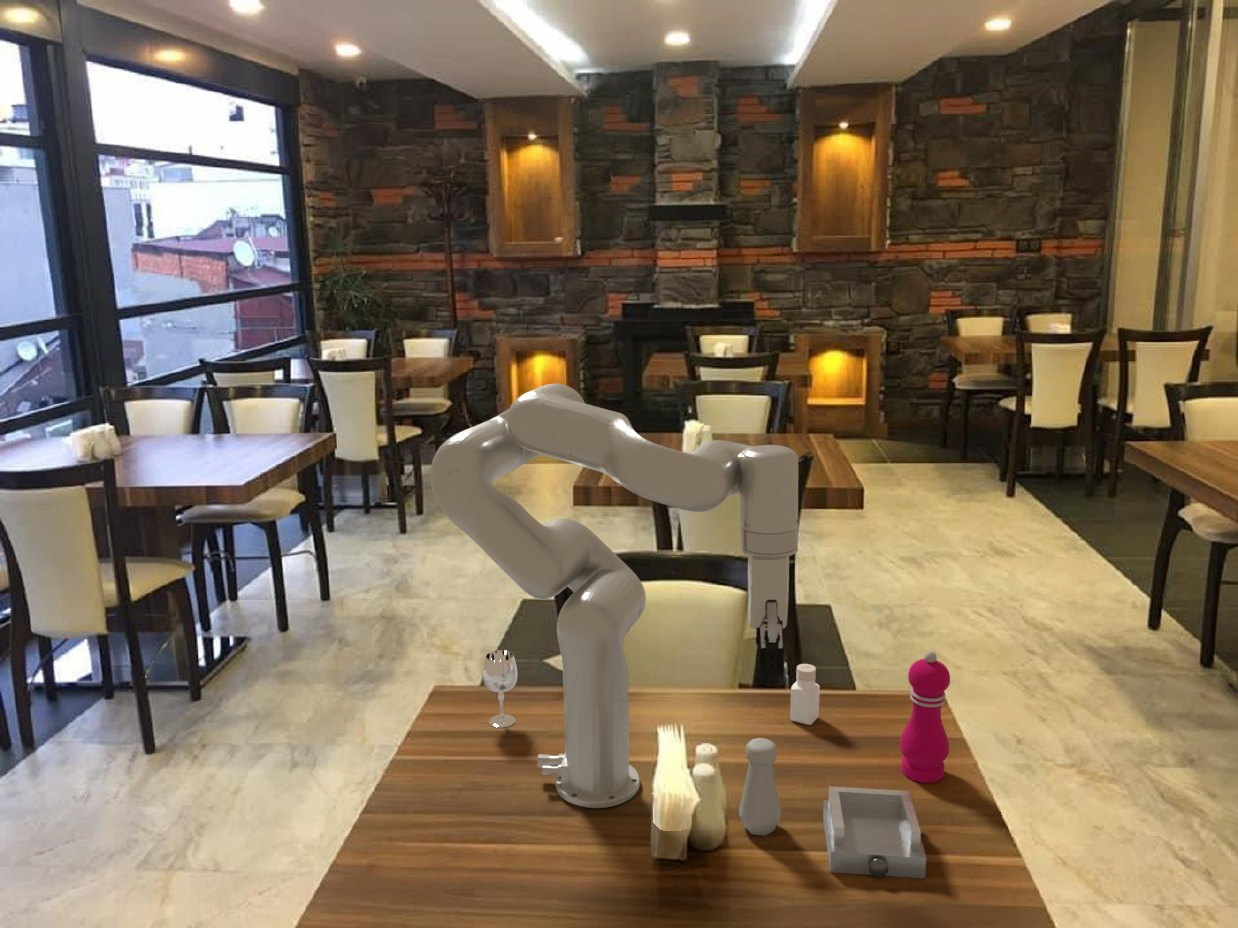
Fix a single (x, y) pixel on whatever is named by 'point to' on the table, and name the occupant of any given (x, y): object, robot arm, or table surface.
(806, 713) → the salt shaker
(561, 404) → the robot arm
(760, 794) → the salt shaker
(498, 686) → the wineglass
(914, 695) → the pepper mill
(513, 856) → the table surface
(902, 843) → the grey square tray
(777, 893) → the table surface
